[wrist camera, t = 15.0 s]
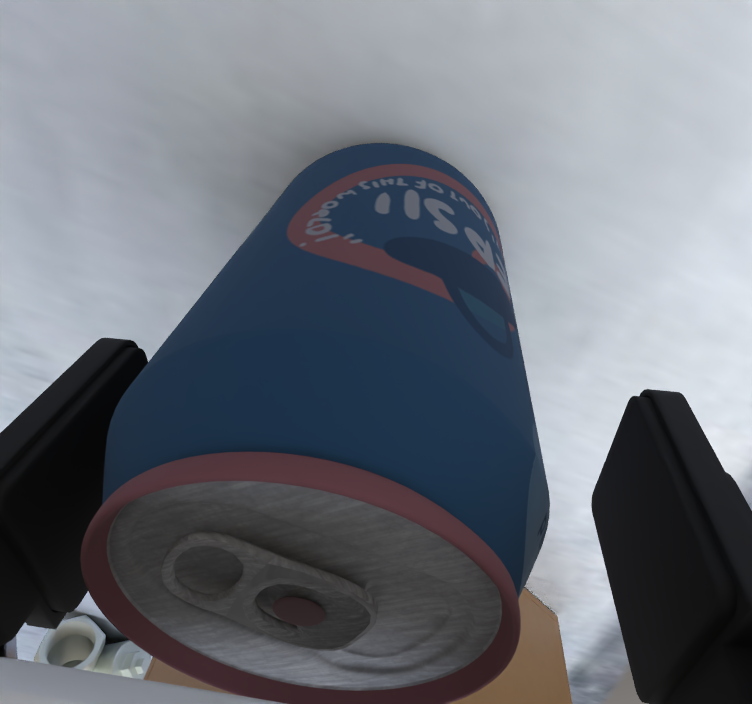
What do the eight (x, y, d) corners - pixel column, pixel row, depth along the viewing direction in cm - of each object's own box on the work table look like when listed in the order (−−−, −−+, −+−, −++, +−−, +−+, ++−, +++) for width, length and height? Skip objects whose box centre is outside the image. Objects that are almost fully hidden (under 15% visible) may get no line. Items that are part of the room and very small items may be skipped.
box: (200, 549, 28) (95, 786, 20) (377, 455, 22) (333, 737, 14) (378, 666, 33) (355, 889, 25) (557, 616, 28) (603, 886, 19)
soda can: (546, 210, 15) (717, 612, 5) (422, 367, 19) (393, 766, 9) (337, 80, 14) (74, 305, 4) (249, 277, 18) (5, 634, 8)
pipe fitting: (163, 629, 35) (59, 608, 34) (140, 694, 32) (24, 674, 31) (153, 674, 39) (61, 657, 38) (131, 735, 36) (30, 718, 35)
